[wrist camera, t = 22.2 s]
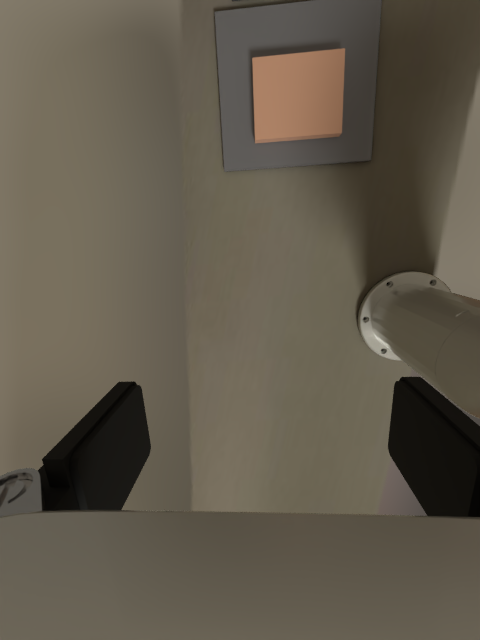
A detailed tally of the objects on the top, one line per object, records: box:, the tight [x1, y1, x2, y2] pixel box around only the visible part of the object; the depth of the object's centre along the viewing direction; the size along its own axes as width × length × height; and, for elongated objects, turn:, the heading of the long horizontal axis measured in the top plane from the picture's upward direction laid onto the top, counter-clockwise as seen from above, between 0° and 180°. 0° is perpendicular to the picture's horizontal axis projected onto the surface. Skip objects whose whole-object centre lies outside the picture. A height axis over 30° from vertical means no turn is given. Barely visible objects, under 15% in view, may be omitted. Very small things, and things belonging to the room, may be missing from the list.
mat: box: [215, 0, 382, 171], centre depth 33 cm, size 18×16×1 cm
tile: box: [252, 48, 345, 143], centre depth 32 cm, size 10×1×8 cm
